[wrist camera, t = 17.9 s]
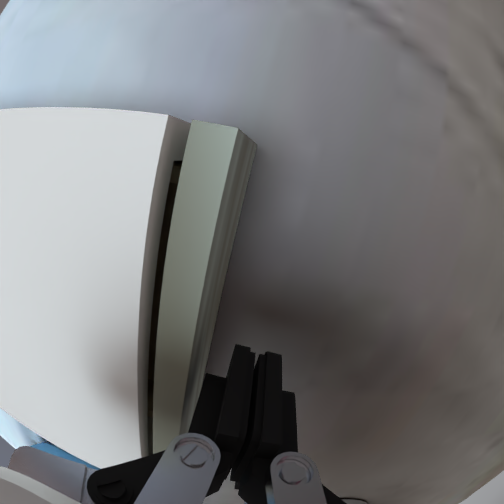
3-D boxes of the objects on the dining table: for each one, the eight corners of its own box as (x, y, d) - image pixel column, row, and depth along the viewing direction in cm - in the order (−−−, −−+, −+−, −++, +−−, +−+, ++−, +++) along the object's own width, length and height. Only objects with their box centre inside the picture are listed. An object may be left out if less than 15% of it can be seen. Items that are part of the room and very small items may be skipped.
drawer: (257, 144, 12) (238, 128, 6) (198, 404, 17) (172, 490, 11) (-20, 118, 12) (-89, 124, 6) (-15, 307, 17) (-63, 343, 11)
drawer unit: (226, 138, 12) (168, 115, 5) (178, 395, 17) (144, 486, 10) (-26, 119, 12) (-97, 126, 5) (-22, 299, 17) (-73, 336, 10)
